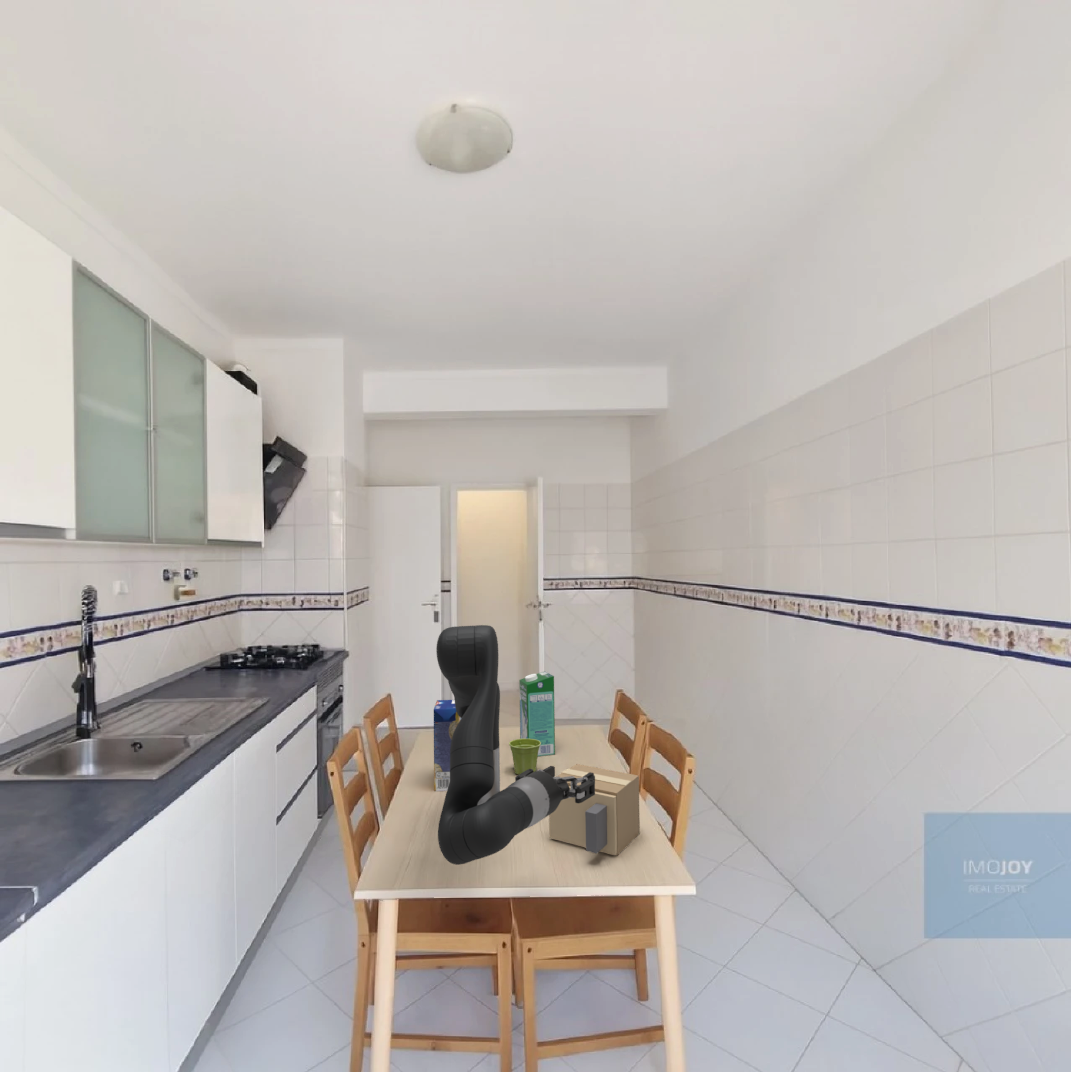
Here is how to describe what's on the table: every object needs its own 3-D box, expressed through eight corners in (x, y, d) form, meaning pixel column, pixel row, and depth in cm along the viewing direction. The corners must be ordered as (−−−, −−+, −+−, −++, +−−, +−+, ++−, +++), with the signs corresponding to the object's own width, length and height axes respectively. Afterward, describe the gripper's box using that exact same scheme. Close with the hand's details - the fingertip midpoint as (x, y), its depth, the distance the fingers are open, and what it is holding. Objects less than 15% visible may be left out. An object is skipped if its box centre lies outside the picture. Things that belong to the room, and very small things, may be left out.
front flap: (537, 847, 135) (537, 790, 135) (551, 836, 140) (551, 782, 140) (604, 865, 126) (603, 805, 126) (617, 853, 131) (616, 796, 132)
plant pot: (508, 767, 186) (508, 738, 186) (540, 766, 187) (539, 737, 187) (509, 779, 177) (509, 748, 177) (542, 777, 178) (542, 747, 178)
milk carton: (520, 749, 204) (519, 672, 205) (546, 746, 207) (545, 670, 207) (528, 757, 195) (527, 677, 196) (555, 754, 198) (554, 675, 199)
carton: (552, 837, 140) (551, 778, 140) (577, 818, 150) (576, 763, 151) (617, 855, 131) (617, 792, 132) (639, 833, 142) (638, 774, 142)
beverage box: (461, 776, 180) (460, 699, 180) (459, 790, 169) (458, 708, 169) (437, 777, 179) (437, 700, 180) (434, 791, 168) (433, 709, 169)
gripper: (565, 784, 104) (605, 759, 118) (495, 771, 111) (540, 749, 125) (566, 830, 103) (606, 800, 117) (495, 814, 110) (540, 788, 124)
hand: (572, 774), depth 121 cm, fingers open, 8 cm apart
